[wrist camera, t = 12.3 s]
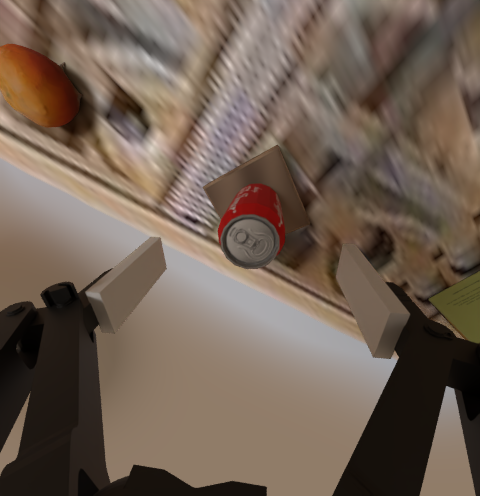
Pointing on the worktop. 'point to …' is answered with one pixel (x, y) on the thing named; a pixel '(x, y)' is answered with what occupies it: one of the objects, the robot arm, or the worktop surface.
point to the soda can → (252, 227)
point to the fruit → (37, 86)
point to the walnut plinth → (267, 173)
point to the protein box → (462, 307)
